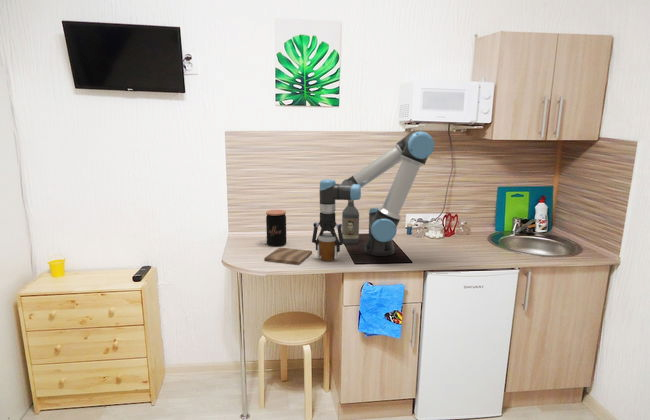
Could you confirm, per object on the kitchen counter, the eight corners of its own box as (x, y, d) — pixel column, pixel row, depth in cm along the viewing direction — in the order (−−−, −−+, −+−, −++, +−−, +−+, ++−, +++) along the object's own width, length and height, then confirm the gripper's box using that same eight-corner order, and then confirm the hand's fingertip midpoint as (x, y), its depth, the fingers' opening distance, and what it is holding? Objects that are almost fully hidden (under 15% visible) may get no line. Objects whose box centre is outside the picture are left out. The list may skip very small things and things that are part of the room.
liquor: (342, 239, 248) (342, 187, 242) (358, 239, 248) (359, 187, 241) (341, 243, 239) (342, 189, 233) (358, 244, 239) (359, 190, 232)
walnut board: (312, 253, 222) (312, 250, 222) (299, 265, 206) (299, 261, 205) (279, 250, 228) (279, 247, 227) (264, 261, 211) (264, 258, 211)
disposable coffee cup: (335, 262, 208) (335, 238, 206) (316, 261, 210) (315, 237, 207) (338, 256, 217) (339, 233, 215) (320, 255, 219) (320, 232, 217)
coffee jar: (262, 245, 237) (262, 212, 233) (274, 240, 246) (273, 208, 242) (279, 247, 232) (278, 214, 228) (290, 242, 241) (289, 210, 237)
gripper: (304, 212, 208) (304, 257, 213) (346, 215, 202) (346, 261, 207) (309, 209, 215) (310, 253, 220) (350, 211, 209) (350, 257, 214)
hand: (327, 257), depth 213 cm, fingers closed on disposable coffee cup, 8 cm apart
